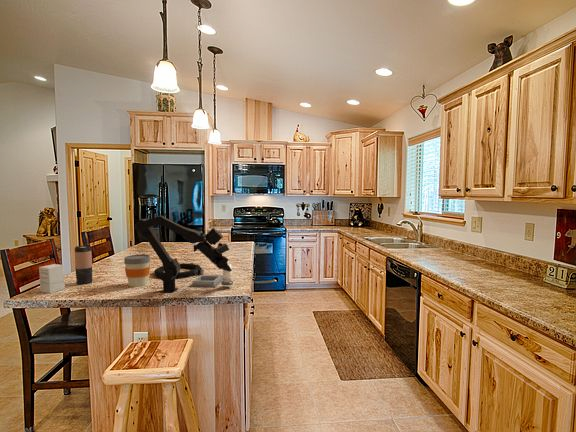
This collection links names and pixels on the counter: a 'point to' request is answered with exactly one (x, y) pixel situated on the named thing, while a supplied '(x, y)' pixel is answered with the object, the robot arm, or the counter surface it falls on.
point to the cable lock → (196, 271)
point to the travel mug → (83, 264)
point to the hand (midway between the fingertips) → (229, 269)
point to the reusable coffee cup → (137, 269)
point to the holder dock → (207, 281)
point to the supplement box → (51, 278)
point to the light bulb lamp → (227, 277)
